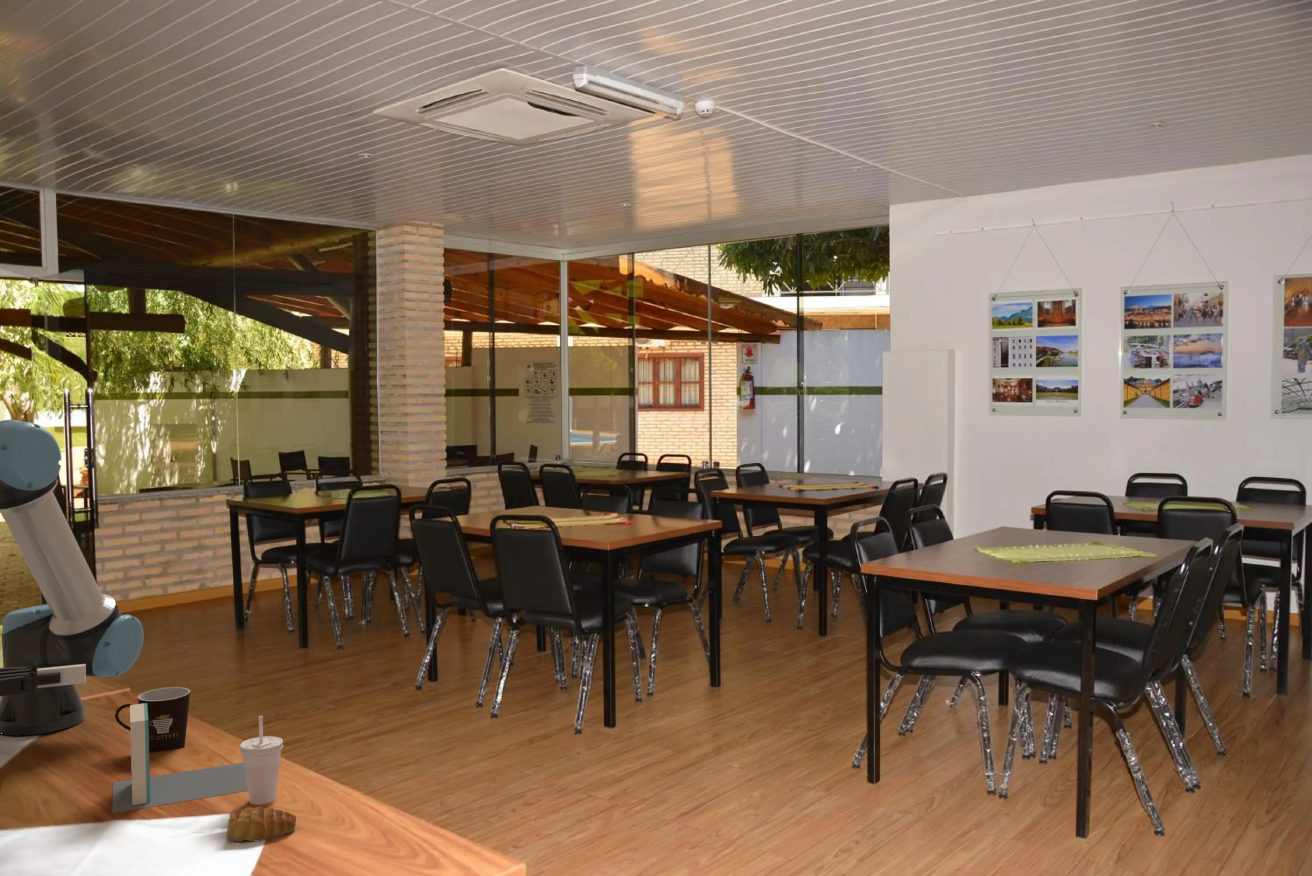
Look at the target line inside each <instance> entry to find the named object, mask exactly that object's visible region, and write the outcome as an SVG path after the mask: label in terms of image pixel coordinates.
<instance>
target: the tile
mask: <svg viewBox="0 0 1312 876" xmlns="http://www.w3.org/2000/svg"><path fill="white" fill-rule="evenodd" d="M129 719H130V721H129V722H130V723H129V724H130V725H129V727H130V761H131V762H130V765H131V767H130V768H131V780H132V805H136V804H142V803H149V802H150V777H151V775H150V773H151V772H150V753H149V729H148V709H147V703H143V704H139V703H137V704H136V703H135V704H134V705H130V707H129Z"/></svg>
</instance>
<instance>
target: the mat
mask: <svg viewBox="0 0 1312 876" xmlns="http://www.w3.org/2000/svg"><path fill="white" fill-rule="evenodd" d="M243 792H244V793H245V792H248V787H247V781H246V774H245V768H244V762H238V763H231V764H226V765H225V764H224V765H218V766H213V767H211V766H210V767H205V768H199V769H194V770H193V769H192V770H186V771H181V772H173V773H166V774H161V775H154V776H150V802H149V803H142V804H136V805H132V779H127V780H121V781H116V782H115V781H114V782H113V783H112V807H111V808H112V809H111V812H112V814H117V813H118V814H119V813H123V812H128V811H135V810H140V809H141V810H142V809H145V808H153V807H158V806H165V805H170V804H176V803H183V802H189V801H196V800H202V799H207V798H214V797H219V796H225V795H230V794H231V795H232V794H238V793H243Z"/></svg>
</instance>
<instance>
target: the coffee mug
mask: <svg viewBox="0 0 1312 876" xmlns="http://www.w3.org/2000/svg"><path fill="white" fill-rule="evenodd" d="M190 698H191V690H190V689H189V688H186V687H179V686H177V687H176V686H175V687H174V686H173V687H161V688H155V689H151V690H148V691H144V692H142V693H140V694H139V695H138V696H137V702H138V703H137V704H143V703H147V709H148V729H149V754H154V753H159V752H167V751H172V750H173V751H174V750H180V749H184V748H185V747H186V737H187V729H188V728H187V727H188V718H189V708H190V707H189V706H190ZM130 705H135V704H133V703H125V704H123V705H120V706H119V707H118V708H117V709H116V710H115V715H114V717H115V721H116V722H117V723H118V724H119V726H121V727H122V728H124V729H126V730H128V731H130V725H126V723H124V722H123V721H122V720H121V719H120V717H119V713H120V712H121V711H122V710H124V709H126V708H130Z"/></svg>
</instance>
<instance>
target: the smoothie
mask: <svg viewBox="0 0 1312 876" xmlns="http://www.w3.org/2000/svg"><path fill="white" fill-rule="evenodd" d="M263 717H264V716H263V715H259V716H258V737H257V736H256V737H253V738H249V739H246V740H244V741H243V742H241V743H240V744H239V753H240V754H241V755H242V759H243V760H242V763H244V768H245V774H246V781H247V787H248V791H247V792H248V800H249V803H250V804H251V805H256V806H257V805H259V806H262V805H266V804H271V803H273V802H275V800H276V798H277V791H278V781H279V773H280V771H279V770H280V761H281V754H282V753H281V751H282V749H283V748H284V741H283V738H281V737H278V736H273V735H272V736H271V735H265V736H264V728H263V727H264V723H263V721H264V720H263Z"/></svg>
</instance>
